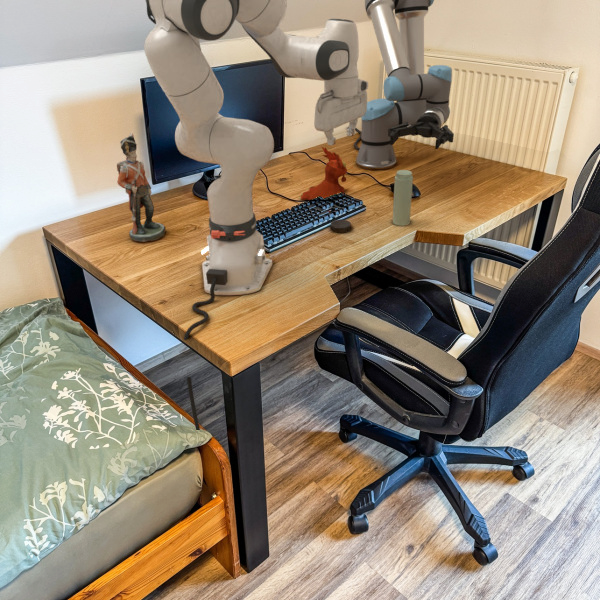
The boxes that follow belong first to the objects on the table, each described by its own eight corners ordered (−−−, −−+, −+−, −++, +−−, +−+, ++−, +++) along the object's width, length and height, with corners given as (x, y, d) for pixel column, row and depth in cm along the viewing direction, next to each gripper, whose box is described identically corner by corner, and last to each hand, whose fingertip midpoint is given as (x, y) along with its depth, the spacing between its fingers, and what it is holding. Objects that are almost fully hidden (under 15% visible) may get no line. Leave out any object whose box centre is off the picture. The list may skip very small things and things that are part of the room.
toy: (355, 194, 190) (356, 151, 182) (309, 205, 184) (308, 160, 176) (337, 183, 200) (337, 141, 192) (293, 193, 193) (291, 150, 186)
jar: (411, 225, 168) (414, 175, 160) (393, 226, 168) (396, 175, 160) (408, 218, 173) (411, 169, 164) (391, 219, 173) (393, 169, 164)
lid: (338, 222, 172) (338, 217, 171) (355, 227, 169) (355, 222, 168) (326, 229, 168) (326, 224, 167) (343, 234, 165) (343, 229, 164)
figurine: (157, 243, 164) (137, 141, 148) (123, 241, 166) (100, 140, 150) (171, 228, 173) (154, 130, 157) (139, 226, 175) (119, 129, 159)
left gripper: (328, 96, 138) (328, 152, 146) (371, 81, 152) (370, 132, 159) (307, 93, 142) (309, 148, 149) (352, 79, 155) (351, 129, 162)
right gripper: (467, 138, 181) (454, 159, 164) (391, 131, 189) (372, 150, 173) (470, 114, 177) (457, 133, 160) (393, 108, 185) (373, 126, 169)
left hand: (341, 140), depth 154 cm, fingers open, 8 cm apart
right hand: (413, 142), depth 167 cm, fingers open, 13 cm apart
